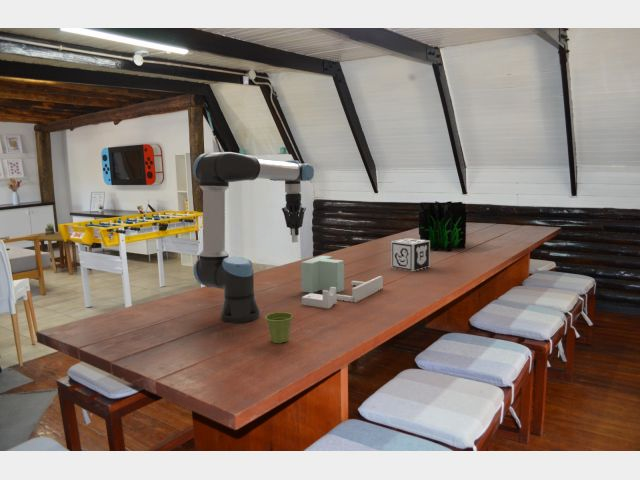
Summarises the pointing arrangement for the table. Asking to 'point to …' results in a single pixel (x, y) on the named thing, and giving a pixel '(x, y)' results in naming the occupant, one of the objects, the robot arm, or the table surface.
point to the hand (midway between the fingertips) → (294, 242)
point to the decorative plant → (443, 225)
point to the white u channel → (363, 289)
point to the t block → (322, 274)
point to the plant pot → (279, 326)
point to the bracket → (321, 299)
